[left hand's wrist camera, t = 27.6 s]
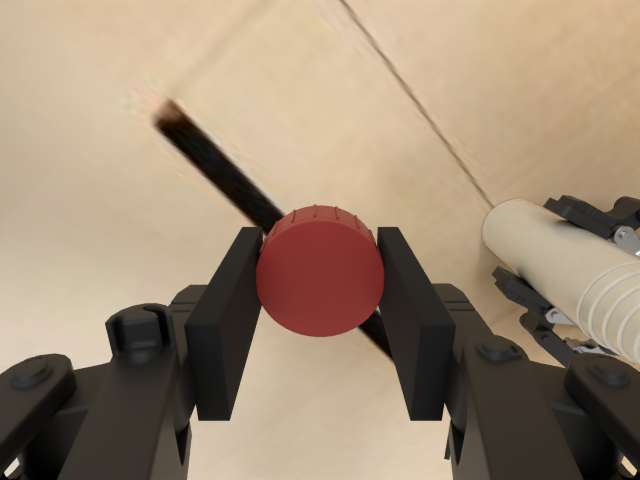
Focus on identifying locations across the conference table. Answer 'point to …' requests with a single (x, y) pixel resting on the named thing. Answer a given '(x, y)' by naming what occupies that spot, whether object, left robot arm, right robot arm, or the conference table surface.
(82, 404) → the left robot arm
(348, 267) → the cap
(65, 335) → the conference table surface
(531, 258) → the bottle
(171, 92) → the conference table surface
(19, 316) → the conference table surface
